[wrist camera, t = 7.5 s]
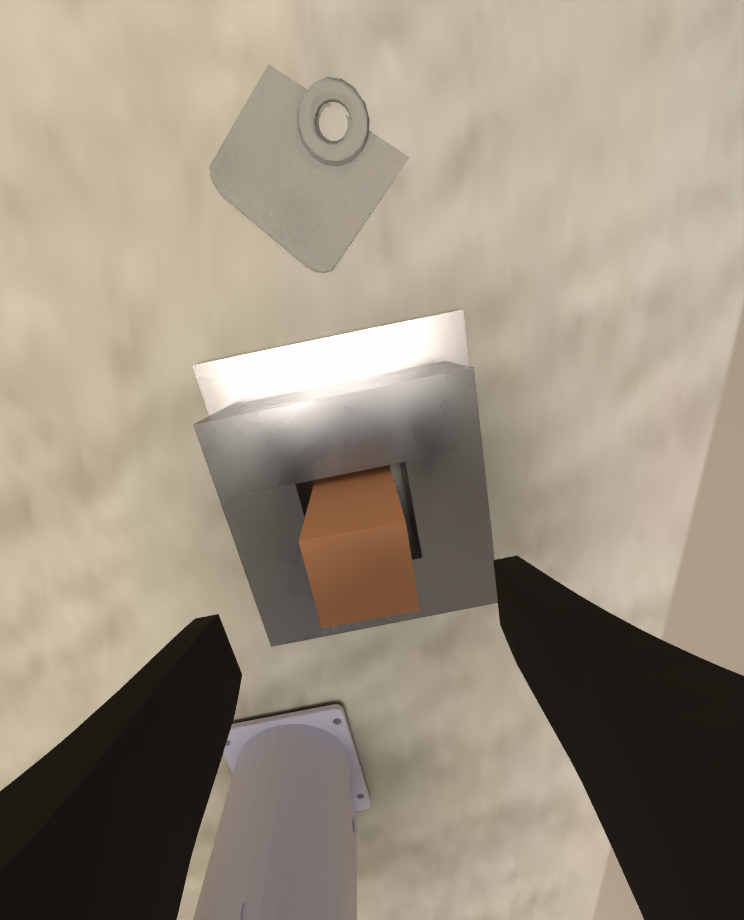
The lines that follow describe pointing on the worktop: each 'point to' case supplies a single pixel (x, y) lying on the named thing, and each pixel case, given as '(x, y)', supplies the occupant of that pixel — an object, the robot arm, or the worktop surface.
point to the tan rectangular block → (358, 548)
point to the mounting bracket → (304, 167)
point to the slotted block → (352, 459)
